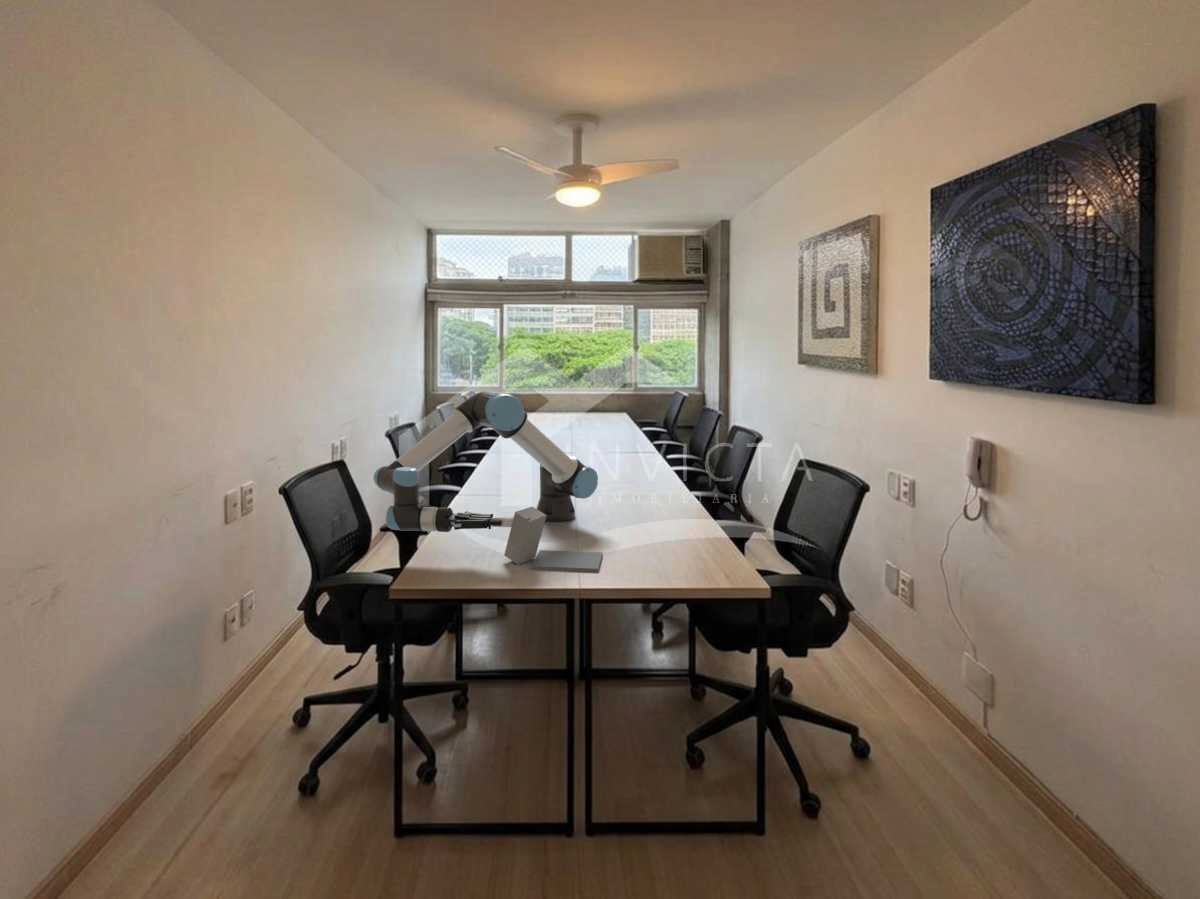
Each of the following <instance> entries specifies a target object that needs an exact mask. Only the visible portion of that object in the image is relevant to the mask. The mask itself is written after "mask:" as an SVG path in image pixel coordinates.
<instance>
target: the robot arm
mask: <svg viewBox="0 0 1200 899" xmlns="http://www.w3.org/2000/svg"><path fill="white" fill-rule="evenodd" d="M524 409H525V407H524V405H523V403H522V402H521V401H520V399H519V398H518V397H516V396H514V395H512V394H509V393H503V392H500V393H499V392H493V391H480V392H478V393H475V394H473V395H472V396H470V397H468V398H466V400H464V401H463V402H462V403H460V404H459V405H457V407H455V408H454V409H453V410H452V414H451V415H450V416H449V417H448V418H446V419H445V420H444V421H442V422H441V423H440V424H439V425H438V426H436V427H435V428H434V429H433V430H431V431H430V432H429V433H428V434H426V435H425V436H424V437H423V438H421V440H419V441H418V442H417V443H415V444H414V445H413V446H412V447H411V448H409V449H408V450H407V451H406V452H404V453H403V454H402V455H401V456H399V457H398V458H397V459H396V460H394V461H393V462H392V463H391V464H389V465H385V466H380V467H378V468H377V469H376V471H375V472H374V474H373V482H374V484H375V485H376V486H377V487H378V489H381V490H382V491H384V492H387V493H389V494H391V495H393V504H394V505H390V506H389V507H388V508H387V510H386V517H385V522H386V523H385V524H386V525H387V528H389V529H390V530H393V531H394V530H395V531H402V532H406V531H410V532H411V531H413V532H414V531H417V532H418V531H419V532H427V534H430V533H432V532H439V533H450V531H451V530H452V528H453V530H457V531H458V530H467V529H470V530H471V529H473V530H474V529H475V530H476V529H482V530H483V529H485V530H487V529H488V530H491V529H492V527H493V528H495V527H496V528H497V527H498V528H511V527H512V523H513V519H514V516H495V515H494V513H481V512H479V513H478V512H471V511H464V512H457V513H454V512H453V509H452V508H450V507H445V506H443V507H442V506H441V507H437V506H420V477H419V471H421V470H422V469H424V468H425V467H426V466H427V465H429V463H430V462H432V461H433V460H435V459H436V458H437V457H438V456H439V455H440V454H442V453H443V452H444V451H445V450H446V449H448V448H449V447H450V446H452V445H453V444H454V443H455V442H457V441H458V440H459V439H460V438H461V437H462V436H464V435H465V434H467V433H472V432H474V430H476V429H477V428H480V427H483V426H484V427H489V428H490V429H492V430H494V431H495V432H496V433H497V434H498V435H500V436H501V437H502V438H503V439H506V440H507V439H511V440H512V441H514V443H516V444H517V445H518V446H519V447H520V448H521V449H522V450H524V451H525V452H526V453H527V454H528V455H530V457H531V458H533V459H534V460H535V461H536V462H538V463H539V464H540V465H539V492H540V493H539V500H538V502H537V505H536V506H537V507H535V508H536V509H537V510H539V511H540V512H542V513H544V514H545V515H547V516H546V520H545V522H566V521H570V520H573V519H575V518H576V510H575V506H574V503H573V500H572V497H575V498H576V499H583V500H584V499H587V498H590V497H591V496H592V495H593V494H594V493H595V491H596V490H597V487H598V484H599V482H598V481H599V475H598V473H597V471H596V470H595V469H594V468H593V467H591V466H586V465H584V463H582V462H581V461H580V460H579V459H578V458H577V457H576V456H574V455H567V453H565V452H564V451H563V450H562V449H561V448H560V447H558V446H557V444H556V443H554V442H553V441H552V440H551V439H550V438H549V437H547V436H546V435H545V434H544V433H543V432H542V431H541V430H540V429H539V428H538V427H536V425H534V424H533V423H532V422H531V421H530V420H529V419H528V415H529V414H528V412H527V411H526V410H524Z"/></svg>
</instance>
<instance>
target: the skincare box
mask: <svg viewBox="0 0 1200 899" xmlns="http://www.w3.org/2000/svg"><path fill="white" fill-rule="evenodd" d="M536 508H537V507H534V506H529V507H527V508H524V509H521V510H518V511H515V512H514V515H513V517H514V519H513V523H512V527H510V531H509V536H508V538H507V543H506V547H505V550H504V554H503V556H505V557H506V558H507V559H509V560H510V561H511V562H513V563H515V564H516V565H518V566H519V565H521V564H523V563H526V562H528V561H531V560H534V559H535V558H536V557H537V554H538V552H537V551H538V548H539V545H540V541H541V538H542V535H543V531H544V527H545V522H546V521H545V520H546V516H547V515H545V514H544V513H542V512H540V511H539V510H537V509H536Z"/></svg>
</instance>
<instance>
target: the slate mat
mask: <svg viewBox="0 0 1200 899" xmlns="http://www.w3.org/2000/svg"><path fill="white" fill-rule="evenodd" d="M602 558H603V552H602V551H601V552H600V551H599V552H597V551H573V550H571V551H570V550H569V551H567V550H548V549H545V550H544V549H540V550H539V551H538V552H537V554H536V556H535V558H534V559H533V562H532V564H531V565H530V566H531V567H530V569H531V570H537V571H538V570H539V571H561V572H562V571H565V572H566V571H567V572H589V573H591V572H592V573H599V570H600V566H601V562H602V560H603V559H602Z"/></svg>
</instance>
